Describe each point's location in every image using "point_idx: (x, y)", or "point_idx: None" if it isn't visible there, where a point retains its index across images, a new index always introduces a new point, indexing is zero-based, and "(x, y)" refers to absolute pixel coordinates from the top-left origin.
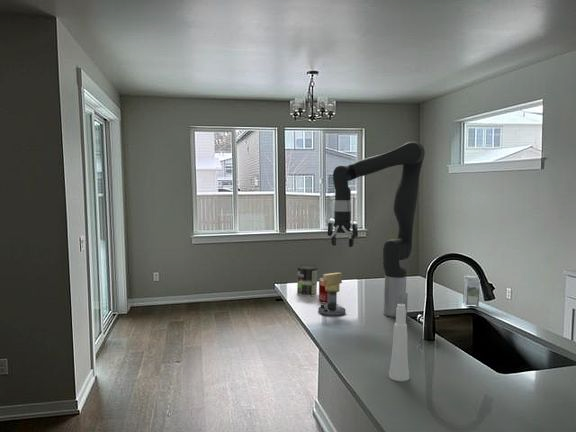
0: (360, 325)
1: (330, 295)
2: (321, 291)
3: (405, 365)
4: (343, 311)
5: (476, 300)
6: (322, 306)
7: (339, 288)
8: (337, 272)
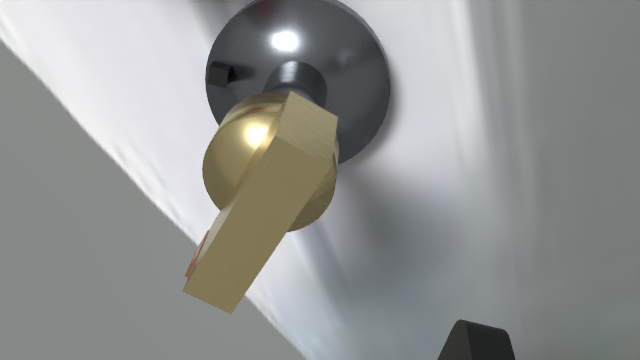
0: (515, 246)
1: None
2: None
3: None
4: (384, 113)
5: None
6: (224, 85)
7: (336, 153)
8: (270, 147)
